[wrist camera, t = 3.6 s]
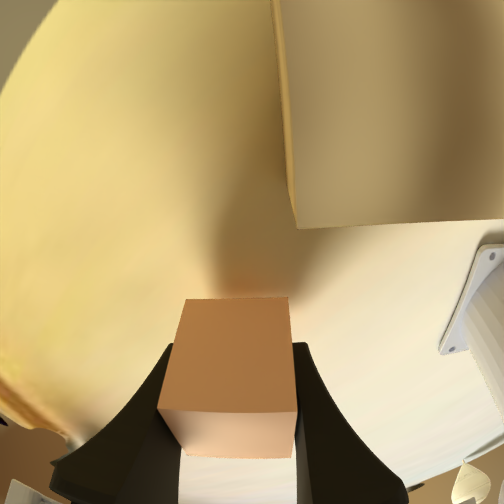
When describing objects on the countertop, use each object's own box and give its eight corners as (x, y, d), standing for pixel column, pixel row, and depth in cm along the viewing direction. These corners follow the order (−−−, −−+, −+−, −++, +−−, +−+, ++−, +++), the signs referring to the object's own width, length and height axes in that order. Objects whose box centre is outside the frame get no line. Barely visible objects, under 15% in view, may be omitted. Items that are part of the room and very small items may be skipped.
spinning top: (470, 460, 37) (483, 508, 27) (438, 472, 37) (449, 523, 27) (487, 444, 33) (503, 497, 23) (453, 459, 34) (467, 516, 23)
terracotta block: (287, 297, 12) (297, 411, 8) (286, 361, 14) (291, 457, 10) (186, 299, 12) (156, 408, 8) (202, 361, 14) (187, 455, 10)
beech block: (485, -18, 6) (542, -27, 2) (489, 179, 11) (541, 218, 8) (261, -59, 7) (262, -111, 3) (285, 181, 12) (296, 229, 8)
